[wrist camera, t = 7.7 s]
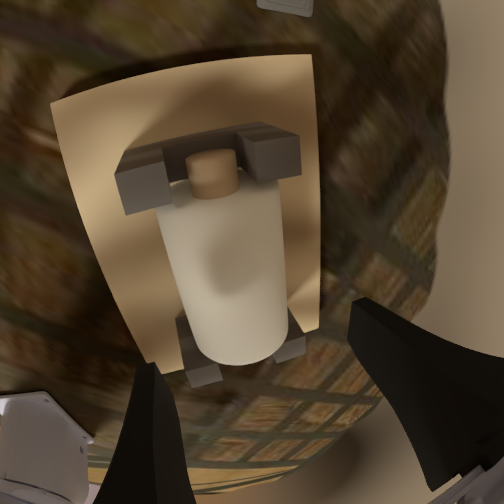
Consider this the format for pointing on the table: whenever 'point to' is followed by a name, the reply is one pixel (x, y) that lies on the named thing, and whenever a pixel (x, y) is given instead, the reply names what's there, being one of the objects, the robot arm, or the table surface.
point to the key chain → (288, 6)
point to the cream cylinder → (228, 258)
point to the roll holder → (174, 170)
